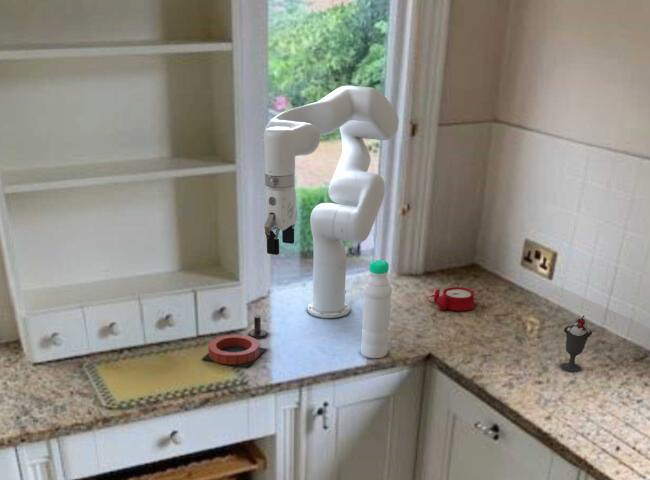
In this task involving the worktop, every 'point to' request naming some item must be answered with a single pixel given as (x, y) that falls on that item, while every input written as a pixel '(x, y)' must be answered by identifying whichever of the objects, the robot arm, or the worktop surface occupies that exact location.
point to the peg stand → (257, 329)
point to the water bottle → (376, 311)
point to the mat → (236, 349)
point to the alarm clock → (454, 299)
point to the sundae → (575, 343)
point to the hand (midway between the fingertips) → (280, 248)
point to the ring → (234, 356)
